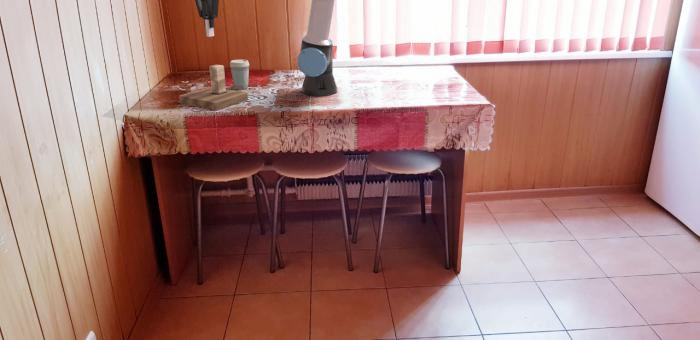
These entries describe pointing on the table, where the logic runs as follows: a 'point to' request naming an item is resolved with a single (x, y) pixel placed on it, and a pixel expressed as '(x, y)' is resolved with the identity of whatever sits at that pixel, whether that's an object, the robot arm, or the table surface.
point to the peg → (217, 79)
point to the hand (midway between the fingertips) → (210, 36)
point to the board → (213, 98)
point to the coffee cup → (240, 73)
